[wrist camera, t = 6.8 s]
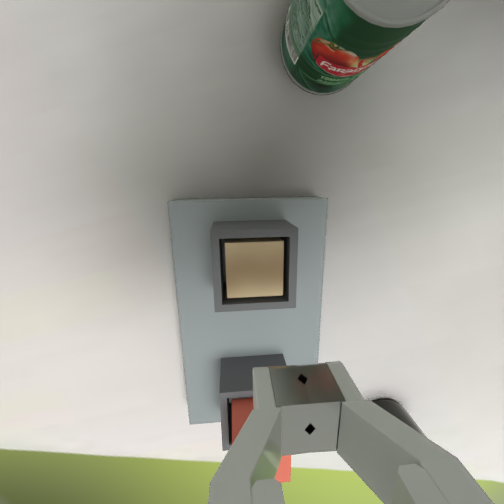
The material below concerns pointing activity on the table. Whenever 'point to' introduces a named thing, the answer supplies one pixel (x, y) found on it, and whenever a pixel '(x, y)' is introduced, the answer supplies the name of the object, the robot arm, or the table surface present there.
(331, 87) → the canned tomato
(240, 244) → the tan button
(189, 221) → the button panel
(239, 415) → the red button
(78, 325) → the table surface
